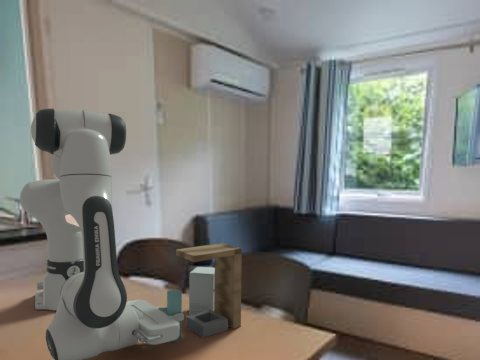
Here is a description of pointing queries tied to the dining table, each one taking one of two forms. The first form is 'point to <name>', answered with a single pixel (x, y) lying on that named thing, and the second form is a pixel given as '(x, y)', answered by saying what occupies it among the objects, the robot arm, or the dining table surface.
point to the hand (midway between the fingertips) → (177, 312)
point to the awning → (222, 277)
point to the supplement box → (201, 290)
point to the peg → (174, 306)
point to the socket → (207, 323)
